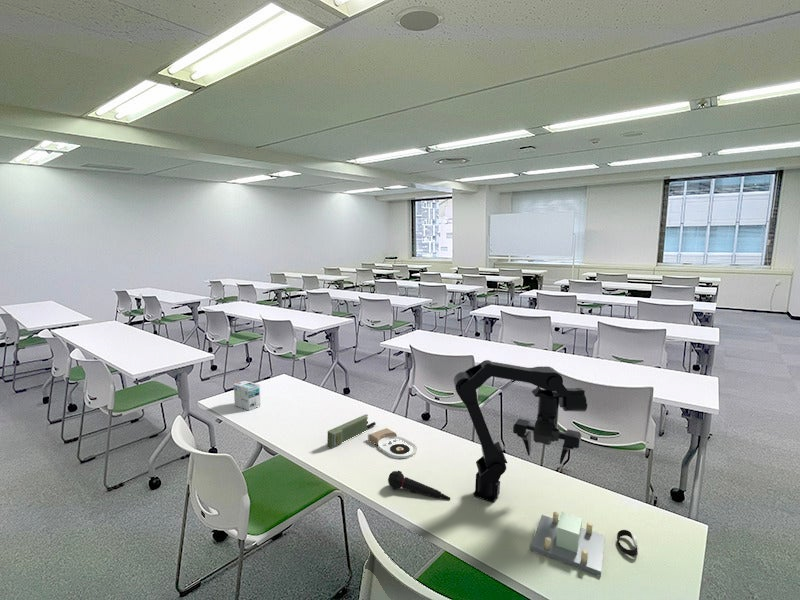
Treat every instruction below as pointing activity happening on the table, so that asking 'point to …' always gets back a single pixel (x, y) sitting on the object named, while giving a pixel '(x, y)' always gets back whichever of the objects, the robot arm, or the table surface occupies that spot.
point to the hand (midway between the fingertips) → (544, 459)
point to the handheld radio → (348, 431)
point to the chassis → (584, 559)
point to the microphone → (413, 485)
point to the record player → (390, 449)
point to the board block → (569, 532)
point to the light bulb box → (247, 395)
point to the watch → (633, 552)
